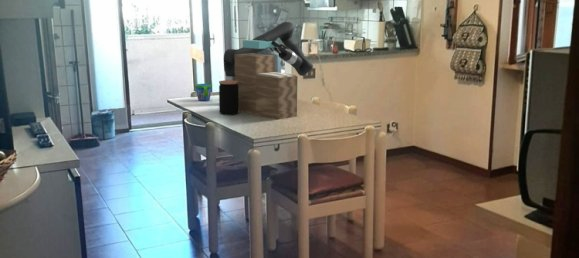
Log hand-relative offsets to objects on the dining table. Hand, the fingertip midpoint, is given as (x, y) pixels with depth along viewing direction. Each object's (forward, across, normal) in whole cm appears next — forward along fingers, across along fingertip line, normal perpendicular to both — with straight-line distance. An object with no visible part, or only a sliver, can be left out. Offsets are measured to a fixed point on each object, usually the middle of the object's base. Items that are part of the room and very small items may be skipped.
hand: (269, 41), depth 323 cm
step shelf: (-9, +9, +39) cm, 41 cm away
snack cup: (-11, -50, +39) cm, 65 cm away
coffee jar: (+4, -4, +47) cm, 48 cm away
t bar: (+3, 0, +5) cm, 5 cm away
